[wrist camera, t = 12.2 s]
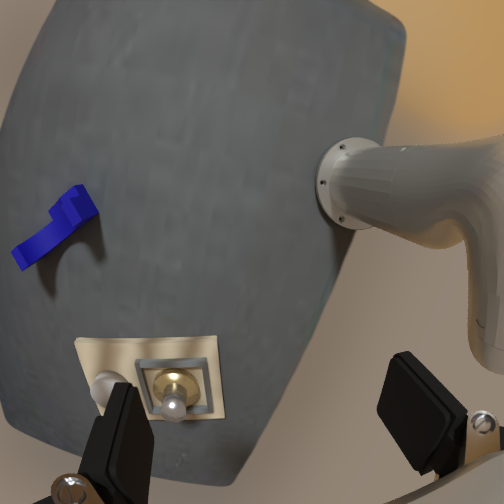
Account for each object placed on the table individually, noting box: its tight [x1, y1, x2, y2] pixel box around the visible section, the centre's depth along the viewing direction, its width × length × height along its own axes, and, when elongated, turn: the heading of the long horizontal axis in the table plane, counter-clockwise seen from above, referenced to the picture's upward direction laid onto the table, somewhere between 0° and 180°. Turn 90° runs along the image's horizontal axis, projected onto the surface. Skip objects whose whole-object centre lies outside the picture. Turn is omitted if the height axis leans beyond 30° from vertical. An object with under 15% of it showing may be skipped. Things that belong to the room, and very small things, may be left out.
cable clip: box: [11, 184, 99, 271], centre depth 32 cm, size 12×4×6 cm, turn 120°
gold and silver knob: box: [153, 368, 199, 423], centre depth 39 cm, size 7×7×6 cm
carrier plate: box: [74, 335, 225, 420], centre depth 41 cm, size 22×16×4 cm
